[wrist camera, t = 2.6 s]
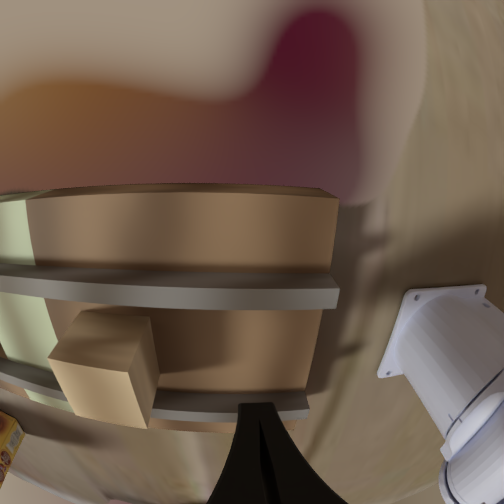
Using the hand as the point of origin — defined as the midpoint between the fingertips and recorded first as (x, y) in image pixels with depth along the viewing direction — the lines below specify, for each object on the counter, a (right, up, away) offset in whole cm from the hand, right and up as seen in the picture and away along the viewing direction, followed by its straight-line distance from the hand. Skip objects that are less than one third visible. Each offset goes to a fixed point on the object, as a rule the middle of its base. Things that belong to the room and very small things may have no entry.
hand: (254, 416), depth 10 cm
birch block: (-7, +2, +4) cm, 8 cm away
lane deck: (-13, +3, +6) cm, 14 cm away
